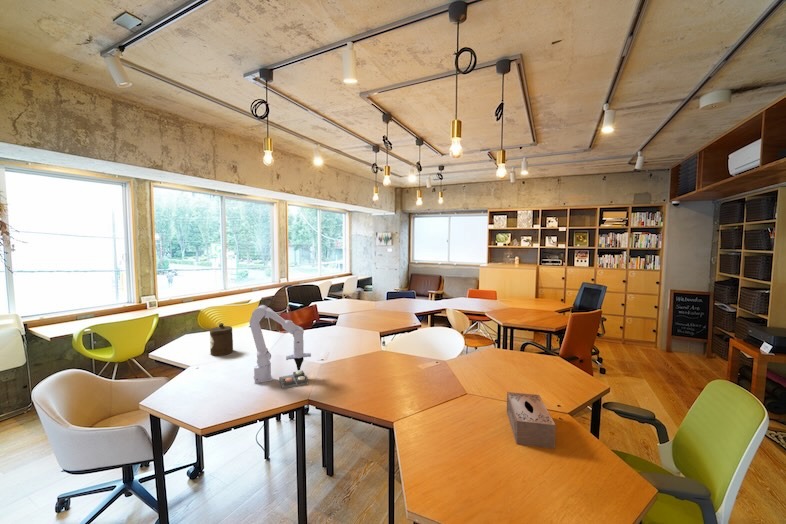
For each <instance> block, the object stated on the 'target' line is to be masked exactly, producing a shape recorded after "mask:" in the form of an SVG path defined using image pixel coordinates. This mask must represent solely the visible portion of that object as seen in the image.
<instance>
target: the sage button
mask: <svg viewBox="0 0 786 524" xmlns="http://www.w3.org/2000/svg"><path fill="white" fill-rule="evenodd" d="M302 371H303V370H297V371H294V372H295V375H299V374H302Z"/></svg>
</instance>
